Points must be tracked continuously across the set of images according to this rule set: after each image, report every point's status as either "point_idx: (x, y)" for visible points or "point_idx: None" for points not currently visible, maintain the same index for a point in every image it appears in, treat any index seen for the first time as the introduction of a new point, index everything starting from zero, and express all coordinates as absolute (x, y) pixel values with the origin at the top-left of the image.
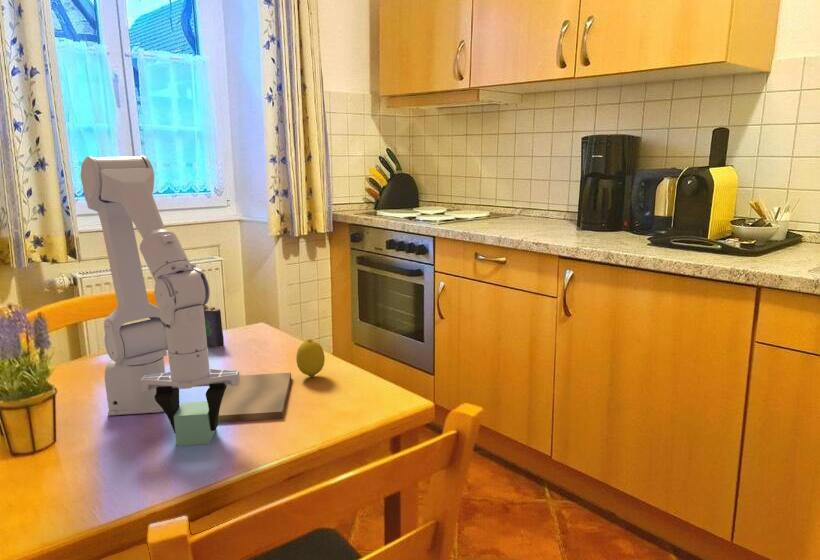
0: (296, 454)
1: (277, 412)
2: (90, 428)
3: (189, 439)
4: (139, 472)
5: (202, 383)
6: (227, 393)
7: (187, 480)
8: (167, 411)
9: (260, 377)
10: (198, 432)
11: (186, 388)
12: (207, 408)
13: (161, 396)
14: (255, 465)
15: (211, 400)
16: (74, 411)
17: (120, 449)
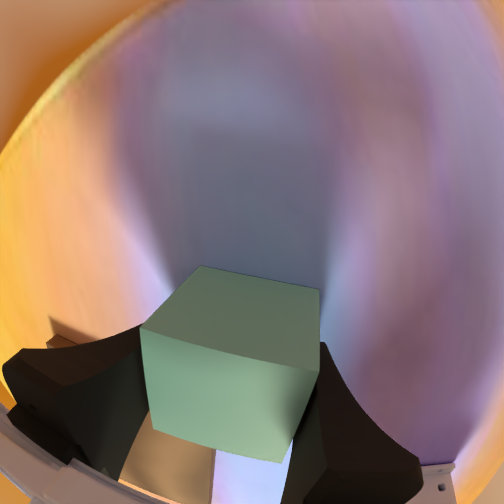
0: (11, 140)
1: (54, 346)
2: (495, 424)
3: (266, 289)
4: (433, 126)
5: (33, 463)
6: (193, 476)
7: (251, 19)
8: (349, 408)
9: (146, 485)
10: (221, 295)
11: (99, 484)
12: (155, 383)
13: (382, 487)
14: (71, 90)
15: (74, 366)
16: (487, 469)
17: (481, 319)
